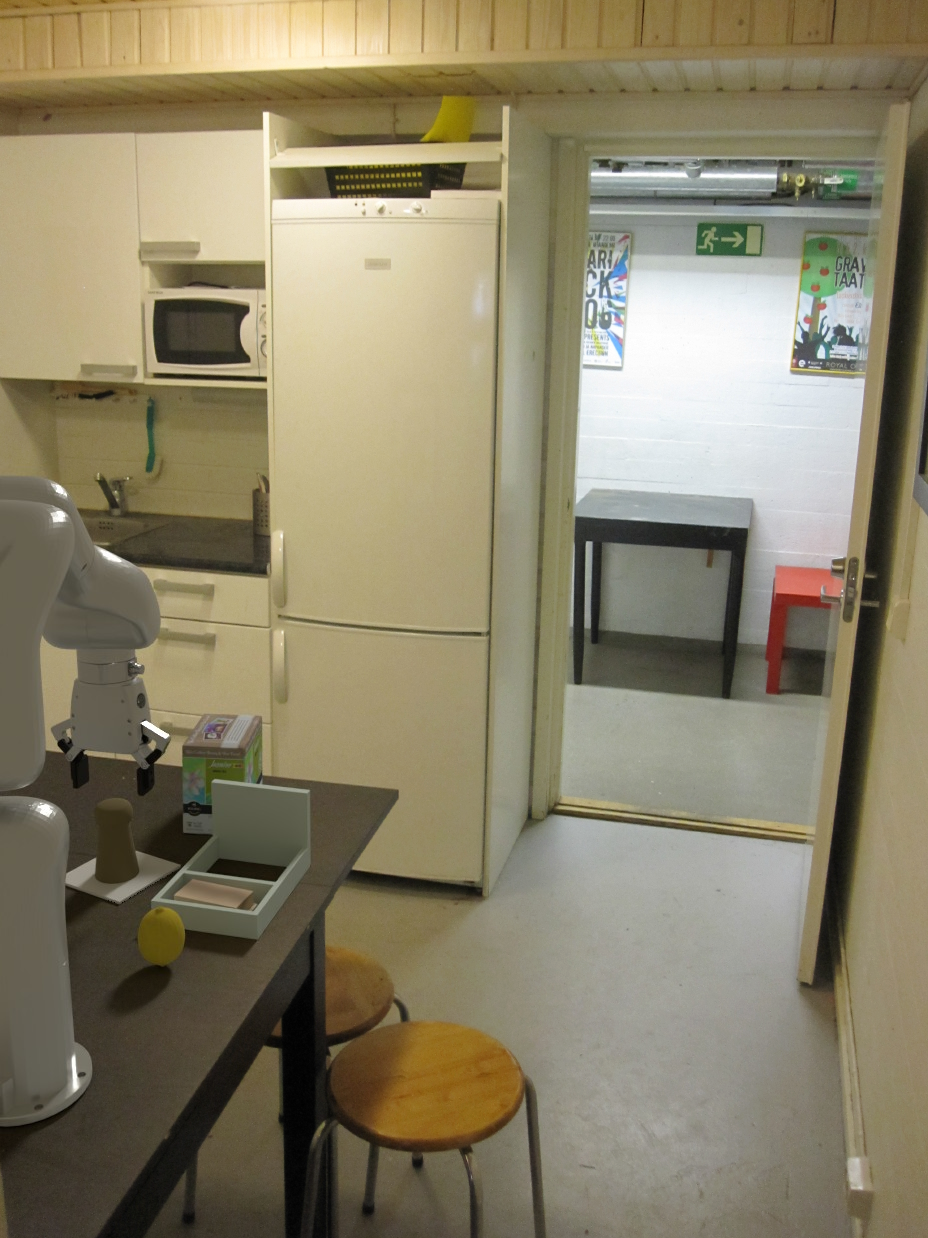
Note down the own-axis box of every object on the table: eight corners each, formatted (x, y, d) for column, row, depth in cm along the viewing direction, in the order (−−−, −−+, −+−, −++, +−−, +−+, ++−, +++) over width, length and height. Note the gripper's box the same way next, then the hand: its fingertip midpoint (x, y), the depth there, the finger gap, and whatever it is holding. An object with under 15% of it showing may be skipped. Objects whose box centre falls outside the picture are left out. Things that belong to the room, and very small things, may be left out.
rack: (257, 940, 138) (255, 854, 134) (152, 924, 140) (148, 841, 137) (310, 866, 157) (310, 790, 154) (217, 853, 160) (214, 779, 156)
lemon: (137, 957, 133) (134, 899, 131) (183, 950, 135) (180, 892, 133) (141, 982, 128) (137, 922, 126) (188, 974, 130) (186, 915, 128)
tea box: (247, 837, 165) (245, 747, 161) (181, 835, 165) (178, 745, 161) (264, 796, 180) (262, 712, 176) (204, 794, 180) (201, 711, 176)
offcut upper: (236, 922, 139) (235, 908, 138) (174, 909, 141) (173, 895, 141) (253, 904, 143) (253, 891, 142) (193, 892, 146) (192, 879, 145)
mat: (119, 904, 145) (119, 902, 145) (55, 882, 150) (55, 879, 150) (180, 867, 155) (180, 865, 155) (118, 847, 160) (118, 845, 160)
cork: (85, 879, 150) (80, 807, 147) (111, 860, 156) (107, 790, 153) (122, 887, 149) (118, 814, 146) (147, 867, 154) (144, 796, 151)
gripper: (179, 667, 147) (183, 785, 151) (64, 657, 150) (71, 773, 154) (153, 683, 139) (158, 806, 143) (32, 672, 143) (41, 792, 147)
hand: (113, 788), depth 149 cm, fingers open, 9 cm apart
